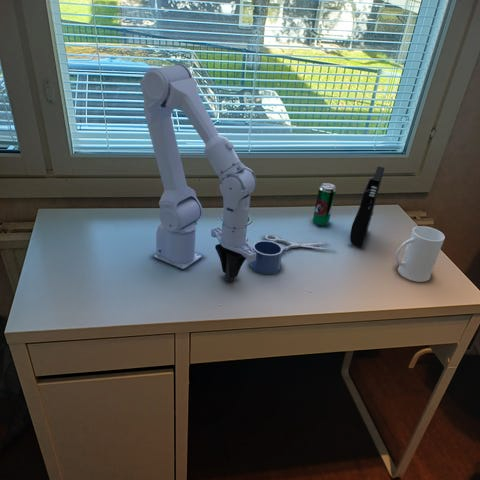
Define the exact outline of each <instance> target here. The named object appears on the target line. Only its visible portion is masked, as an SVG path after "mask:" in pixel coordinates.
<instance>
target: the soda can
mask: <svg viewBox="0 0 480 480" xmlns="http://www.w3.org/2000/svg"><path fill="white" fill-rule="evenodd" d="M336 188H337V187H336V185H334V184H332V183H328V182H323V183H321V184H320V186H319V187H318V193H317V197H316V202H315V207H314V211H313V217H312V222H313V224H314V225H316V226H319V227H326V226H328V225H329V223H330V220H331V215H332V211H333V206H334V203H335V199H336V194H337V190H336Z"/></svg>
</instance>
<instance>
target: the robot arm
mask: <svg viewBox="0 0 480 480" xmlns="http://www.w3.org/2000/svg"><path fill="white" fill-rule="evenodd" d="M139 85H140V89H141V93H142V97H143V115H144V117H145V121H146V125H147V129H148V132H149V137H150V140H151V145H152V148H153V152H154V156H155V159H156V164H157V167H158V171H159V175H160V179H161V183H162V187H163V192H162V195H161V196H160V199H159V201H158V205H159V220H160V224H159V225H158V226H157V229H156V233H155V234H156V235H155V244H156V248H155V250H156V251H155V253H156V254H154V259H157V260H160V261H162V262H164V263H167V264H169V265H172V266H175V267H177V268H179V269H182V270H185V269H187V268H188V267H190V266H191V265H193V264H194V263H196V262H197V261H198V260H200V259H202V255H201V254H198V253H196V236H197V235H196V234H197V233H196V232H197V229H196V228H197V225H198V220H200V219H201V218H202V216H203V206H202V204H201V202H200V200H199V199H198V196H197V193H196V191H195V190H194V189H193V188H191V187H189V186H188V184H187V179H186V175H185V171H184V167H183V163H182V158H181V155H180V149H179V145H178V141H177V137H176V133H175V127H174V124H173V120H172V114H173V112H174V110H177V111H181V112H183V114H184V116H185V117H186V118H187V120H188V121H189V122H190V124H191V126H192V127H193V128H194V130H195V131H196V133H197V134H198V136H199V137H200V139H201V140H202V141H203V143H204V144H205V145H204V151H203V152H204V155H205V157H206V158H207V161H208V162H209V164H210V165H211V167H212V169H213V171H214V172H215V174H216V175H217V177H218V179H219V180H220V182H221V183H219V191H220V194H221V196H222V198H223V199H222V200H223V201H222V204H223V209H222V223H221V227H219V226H217V227H213V228H211V232H210V237H212V238H216V239H217V241H218V244H216V245H214V249H215V250H216V253H217V254H218V258H219V261H220V265H221V270H222V273H223V274H225V268H226V257H227V259H228V263H229V277H230V278H234V277H235V278H237V277H238V275H239V273H240V271H241V268H242V266H243V264H244V263H245V262H247V263H251V262H252V261H255V260H256V253H255V252H254V251H253V250H252V248H253V247H251V246H250V244H249V237H247V232H248V224H249V213H250V204H251V194H252V193H253V192H254V191H255V189H257V184H258V183H257V177H256V175H255V172H254V170H252V169H251V168H249V167H247V166H246V165H245V163H242V161H241V159H240V158H239V156H238V154H237V153H236V151H235V149H234V147H235V146H234V144H233V142H232V141H230V140H229V139H228V137H225V136H222V135H220V134H219V132H218V130H217V128H216V126H215V125H214V122H213V120H212V118H211V116H210V114H209V112H208V111H207V109H206V106H205V104H204V102H203V100H202V98H201V96H200V94H199V90H198V88H199V87H198V81H196V79H195V77H193V74H192V72H191V70H190V69H189V67H188V66H187V65H185V64H183V63H175V64H172V65H167V66H162V67H150V68H148V69H147V70H146V71H145V73H144V75H143V76H142V79H141V80H140V83H139Z"/></svg>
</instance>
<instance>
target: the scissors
mask: <svg viewBox="0 0 480 480" xmlns="http://www.w3.org/2000/svg"><path fill="white" fill-rule="evenodd" d="M264 239H265V240H264V241H272V242H275V243H278V242H279V243H284V244H286V245H287V246H284V247H283V246H281V247H282V248H283V251H282V252H284V251H288V250H290V249H296V248H307V249H308V248H309V249H317V250H325V251H326V250H327V251H332V249H330V248H325V247H319V246H314V245H324V242H303V243H301V242H295V241H288V240H286V239H282V238H279V237H278V236H276V235H274V234H267V235H265V236H264Z"/></svg>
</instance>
